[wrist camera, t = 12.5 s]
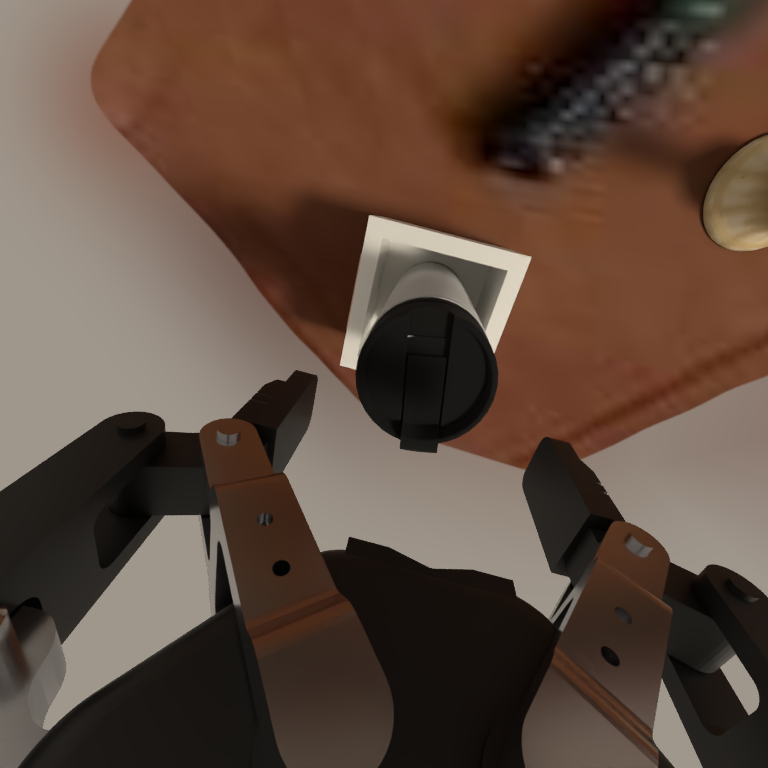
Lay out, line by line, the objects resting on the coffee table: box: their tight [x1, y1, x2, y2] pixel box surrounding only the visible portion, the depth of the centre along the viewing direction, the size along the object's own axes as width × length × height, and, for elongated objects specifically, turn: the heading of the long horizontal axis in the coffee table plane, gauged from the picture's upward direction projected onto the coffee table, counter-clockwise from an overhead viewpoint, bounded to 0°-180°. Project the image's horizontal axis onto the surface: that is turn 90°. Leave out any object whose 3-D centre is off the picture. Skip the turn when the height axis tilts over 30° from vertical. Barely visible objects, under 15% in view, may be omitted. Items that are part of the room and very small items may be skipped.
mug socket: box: [340, 215, 532, 369], centre depth 31 cm, size 11×12×8 cm
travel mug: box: [356, 262, 498, 453], centre depth 24 cm, size 6×7×20 cm
